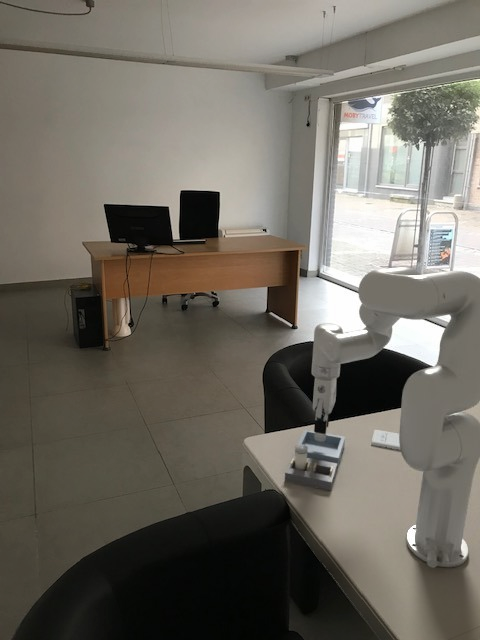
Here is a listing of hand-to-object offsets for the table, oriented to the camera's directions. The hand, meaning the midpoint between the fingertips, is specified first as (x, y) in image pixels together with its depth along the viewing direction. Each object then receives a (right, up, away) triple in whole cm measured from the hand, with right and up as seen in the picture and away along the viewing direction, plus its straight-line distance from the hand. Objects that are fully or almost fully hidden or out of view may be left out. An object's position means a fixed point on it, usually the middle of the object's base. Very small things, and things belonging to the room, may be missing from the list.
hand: (321, 428), depth 148 cm
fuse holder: (-4, -11, -9) cm, 15 cm away
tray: (0, -7, +2) cm, 7 cm away
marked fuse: (0, -3, +1) cm, 3 cm away
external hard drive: (+23, -6, +8) cm, 25 cm away
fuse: (-7, -10, -8) cm, 15 cm away
